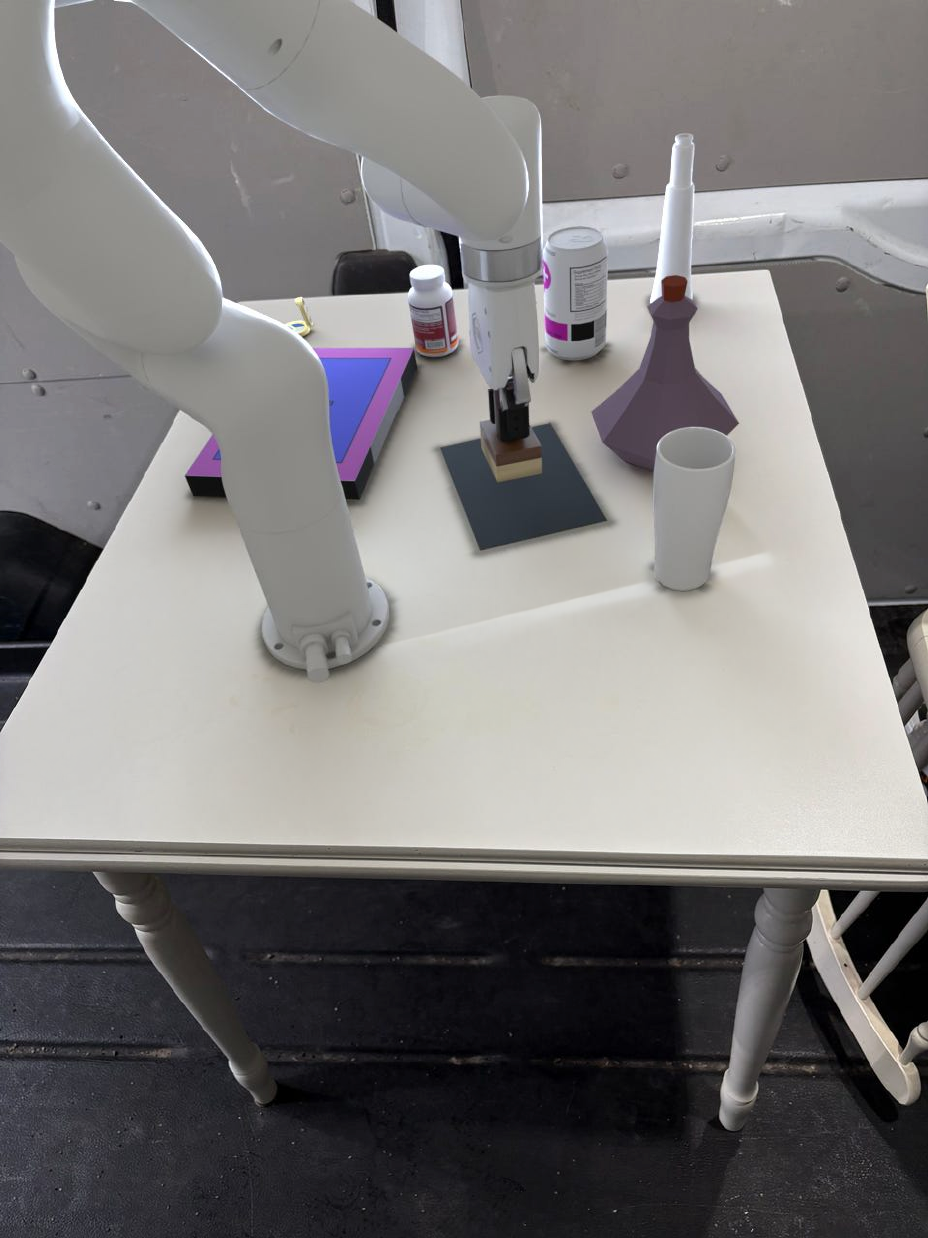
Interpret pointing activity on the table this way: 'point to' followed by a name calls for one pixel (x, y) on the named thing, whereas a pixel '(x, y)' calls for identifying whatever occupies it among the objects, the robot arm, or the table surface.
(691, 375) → the flask
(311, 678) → the robot arm
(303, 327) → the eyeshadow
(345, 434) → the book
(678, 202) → the cosmetic bottle
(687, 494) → the drinking glass
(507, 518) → the mat
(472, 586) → the table surface
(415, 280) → the pill bottle
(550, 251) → the supplement can
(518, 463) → the brush
